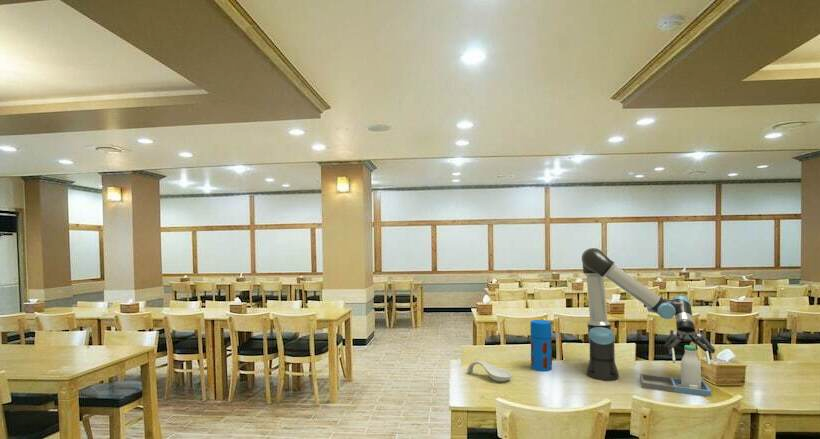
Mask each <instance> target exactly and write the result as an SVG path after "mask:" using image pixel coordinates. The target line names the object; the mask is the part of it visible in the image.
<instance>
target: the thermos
mask: <svg viewBox="0 0 820 439" xmlns="http://www.w3.org/2000/svg"><path fill="white" fill-rule="evenodd" d="M529 327H530V363H531V364H530V365H531V369H532V370H533V371H538V372H550V371H552V370H553V367H552V366H553V355H552V353H553V349H552V348H553V347H552V342H553V341H552V336H553V335H552V321H550V320H546V319H545V320H544V319H532V320H530V326H529Z"/></svg>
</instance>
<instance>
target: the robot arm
mask: <svg viewBox="0 0 820 439" xmlns="http://www.w3.org/2000/svg"><path fill="white" fill-rule="evenodd" d="M581 262H582V272H583V273H582V274H584V275H585V277H586V286H587V298H588V299H587V300H588V309H589V321H588V322H587V337H588V338H587V339H588V342H589V361H588V364H587V367H586V371H585V372H586V373H585V374H586V375H587V376H588V377H589V378H592V379H595V380H600V381H611V382H612V381H616V380H619V379H620V374H619V373H620V372H619V369H618V368H617V364H616V361H615V360H616V359H615V358H616V356H615V354H616V353H615V340H616V338H615V333H614V331H613V330H612V326H611V322H610V321H608V314H607V311H608V310H607V302H606V299H607V298H606V291H605V287H606V286H605V278H607V279H608V280H609V281H610V282H612V283H613V284H615V285H617V286H618V287H619V288H621V289H622V290H623V291H624V292H626V293H628V294H629V295H630V296H632V297H633V298H635V299H637V300H638V301H639V302H640V303H642V304H643V305H645V306H646V309H647V311H648V312H650V313H654V314H655V313H656V314H657V315H658V316H659V317H661V318H662V319H665V320H670V319H672V318H675V324H676V331H674V330H672V329H671V330H669V336H668V337H667V339H666V340H665V343H664V344H663V348H664V349H667V350H668V354H669V356H671V358H672V363H673V364H675V363H676V355H675V347H676V346H677V345H678V344H680V343H681V342H684V343H686V342H688V343H693V344H695V345H697V346H698V347H699V349H701V350H703V351H704V352H705V359H706V366H707V367H708V368H710V367H711V360H712V357H713V356H712V354H715V352H716V348H715V347H714V346H713V345H712V344H711V342H710V341H709V340H708V338H706V336H705V333H704V332H700V333H697V332H696V327H695V321H694V317H693V311H692V304H691V301H690V299H689V298H688V297H687V296H685V295H678V296H677V295H676V296H674V297H673V298H672V299H667V298H662V297H661V296H659V295H658V294H656V293H655V292H654V291H653V290H651V289H650V288H648V287H647V286H645V285H644V284H643V283H642V282H639V281H638V280H637V279H636V278H634V277H632V276H631V275H629V274H628V273H627V272H626V271H624V270H622V269H621V268H620V267H618V266H617V265H616V263H615V262H614V261H613V260H612V259H610V258H609V257H608V256H607V255H606V254H605V253H604V251H603V250H601V249H599V248H596V247H591V248H587V249H586V250H584V252H583V253H582V255H581ZM675 336H677V338H675V340H673V337H675ZM699 339H700V340H701V341H700V340H699ZM672 340H673V341H672ZM671 341H672V342H671Z"/></svg>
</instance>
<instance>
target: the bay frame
mask: <svg viewBox="0 0 820 439" xmlns="http://www.w3.org/2000/svg"><path fill="white" fill-rule="evenodd" d="M639 381H640V386H641V388H642V389H647V390H654V391H661V392H671V393H677V394H685V395H693V396H698V397H699V396H700V397H707V396H712V389H710V387H709V386H708V384H707V382H705V380H704V381H703V380H701V389H698V386H697V385H689V386H690V388H686V387H681V386H677V385H681V377H679V378H678V377H670V376H663V375H661V376H660V375H652V374H648V373H647V374H645V373H639ZM645 381H646V382H645ZM647 381H651V382H647ZM654 382H658V383H654ZM659 383H660V384H659ZM661 383H666V384H661ZM668 384H670V385H668ZM702 388H703V389H702Z"/></svg>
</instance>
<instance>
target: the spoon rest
mask: <svg viewBox="0 0 820 439" xmlns="http://www.w3.org/2000/svg"><path fill="white" fill-rule="evenodd" d="M475 365H480V366H482V367H483V369H484V370H485V372H486V373H487V375H488V376H489V378H490V379H491V380H493V381H494V382H499V383H503V382H507V381H509V380H510V379H511V378H512V376H513V373H512V372H511V371H509V370H507V369H505V368H501V367H499V366H496V365H494V364H491V363H489V362H486V361H483V360H476V361H474V362H472V363H470V364H469V366H468V368H467V372H466V373H467V374H472V373H473V371H474V366H475Z"/></svg>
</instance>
